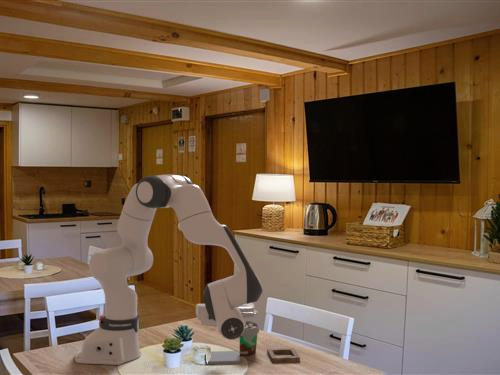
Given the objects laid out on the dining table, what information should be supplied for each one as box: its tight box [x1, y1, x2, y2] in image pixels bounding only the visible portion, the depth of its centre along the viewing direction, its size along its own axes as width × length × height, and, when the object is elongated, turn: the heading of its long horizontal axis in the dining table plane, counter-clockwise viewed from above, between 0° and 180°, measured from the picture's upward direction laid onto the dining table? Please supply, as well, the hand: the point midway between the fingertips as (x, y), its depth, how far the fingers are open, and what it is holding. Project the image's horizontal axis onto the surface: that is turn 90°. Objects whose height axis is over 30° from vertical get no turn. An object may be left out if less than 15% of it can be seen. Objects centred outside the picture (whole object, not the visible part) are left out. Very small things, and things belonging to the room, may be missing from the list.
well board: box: [266, 347, 301, 363], centre depth 184 cm, size 10×10×2 cm
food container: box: [239, 320, 260, 357], centre depth 189 cm, size 12×6×10 cm, turn 168°
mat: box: [207, 350, 242, 365], centre depth 181 cm, size 12×10×1 cm
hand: (223, 304), depth 182 cm, fingers closed on sage block, 5 cm apart
